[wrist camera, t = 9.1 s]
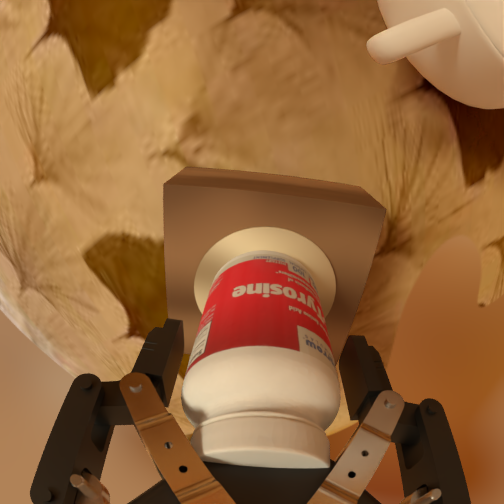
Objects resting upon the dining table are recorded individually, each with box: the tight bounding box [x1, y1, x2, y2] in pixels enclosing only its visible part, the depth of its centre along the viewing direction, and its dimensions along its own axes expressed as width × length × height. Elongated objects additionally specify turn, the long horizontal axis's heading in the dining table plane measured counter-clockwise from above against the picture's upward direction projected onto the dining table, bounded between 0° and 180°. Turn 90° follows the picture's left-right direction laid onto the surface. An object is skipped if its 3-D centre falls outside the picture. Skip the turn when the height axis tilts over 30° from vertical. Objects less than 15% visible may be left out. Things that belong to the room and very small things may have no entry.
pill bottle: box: [181, 250, 341, 468], centre depth 13 cm, size 6×6×11 cm
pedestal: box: [163, 167, 386, 366], centre depth 20 cm, size 12×12×5 cm
